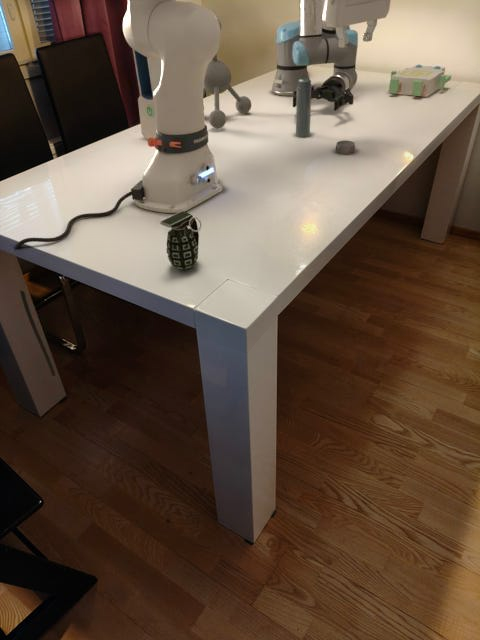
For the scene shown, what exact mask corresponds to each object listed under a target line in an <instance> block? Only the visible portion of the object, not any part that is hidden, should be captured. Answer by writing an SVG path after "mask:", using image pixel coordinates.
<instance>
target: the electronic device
mask: <svg viewBox="0 0 480 640" xmlns="http://www.w3.org/2000/svg"><path fill="white" fill-rule="evenodd" d="M132 54H133V60H134V61H133V62H134V65H135V72H136V79H137V86H138V90H139V97H138V98H137V103H138V113H139V123H140V129H141V130H140V131H141V135H142V136H143V138H144V139H146V140H148V139H149V138H150V137H152V138H156V130H157V129H158V128H157V121H156V114H155V108H154V101H153V93H154V91H155V89H156V88H157V86H159V84H160V79H161V71H162V64H161V60H157V59H152V58H148V57H145V56H144V55H142V54H140V53H138V52H137V51H135V50H134V49H133V48H132Z"/></svg>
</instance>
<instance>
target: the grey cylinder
mask: <svg viewBox="0 0 480 640" xmlns="http://www.w3.org/2000/svg"><path fill="white" fill-rule="evenodd" d="M311 86H312V80H311V78H309V79H300V80H298V87H297V104H296V107H295V108H296V110H295V112H296V113H295V118H296V119H295V136H296V137H298V138H307V137H310V136H311V113H312V99H311V90H312V87H311Z"/></svg>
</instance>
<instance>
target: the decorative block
mask: <svg viewBox="0 0 480 640" xmlns="http://www.w3.org/2000/svg"><path fill="white" fill-rule="evenodd" d="M445 72H446V67H445V66H440V65H435V66H433V65H422V64H415V65H414V66H412V67H406V68H404V69H402V70H399V71H396V70H392V71H391V72H390V80H389V86H388V87H389V89H388V94H395V95H404V96H413V97H424V98H428V97H430V96H432V95H433V94H434V93H435V92H436V91H438V90H444V88H445V84H447V83H448V82H450V81H451V80H452V75H451V74H445Z"/></svg>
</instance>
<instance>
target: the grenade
mask: <svg viewBox="0 0 480 640" xmlns="http://www.w3.org/2000/svg"><path fill="white" fill-rule="evenodd" d="M198 222H199V226H198ZM159 224H160V225H162V226H164V227H166V228H169V230H168V231H167V236H166V254H167V259H168V261H169V263H170V265H171V266H172V267H174V268H176V269H178V270H181V271H186V270H189V269H192V267H194V266H195V265H196V264H197V262H198V261H197V260H198V259H199V243H200V241H199V240H200V233H199V232H200V231H201V228H202V221H201V220H200V219H199V218H198V217H197V216H194V215H193V214H192V213H189V212H187V211H185V212H184V211H181V212H179V213H174V214H172V215H170V216H169V217H166V218H165V219H162V220H160V222H159ZM198 227H199V228H198Z"/></svg>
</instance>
